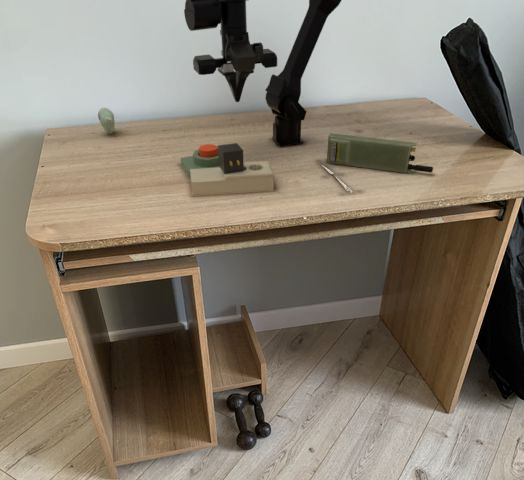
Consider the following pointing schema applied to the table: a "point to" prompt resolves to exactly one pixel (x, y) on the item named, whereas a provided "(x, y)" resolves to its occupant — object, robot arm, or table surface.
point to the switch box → (198, 162)
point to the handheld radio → (372, 153)
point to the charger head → (230, 158)
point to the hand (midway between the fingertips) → (237, 101)
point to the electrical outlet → (233, 179)
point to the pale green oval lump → (107, 120)
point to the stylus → (339, 180)
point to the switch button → (208, 151)
